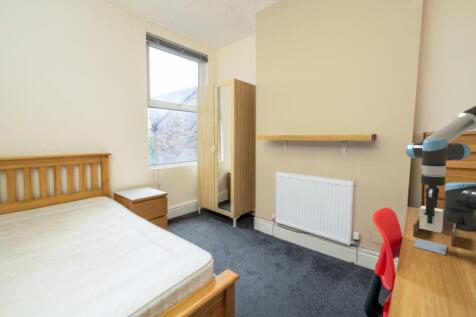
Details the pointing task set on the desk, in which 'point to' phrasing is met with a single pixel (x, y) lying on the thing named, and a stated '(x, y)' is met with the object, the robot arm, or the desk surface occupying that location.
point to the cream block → (438, 219)
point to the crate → (447, 229)
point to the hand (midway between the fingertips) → (430, 228)
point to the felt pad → (430, 246)
